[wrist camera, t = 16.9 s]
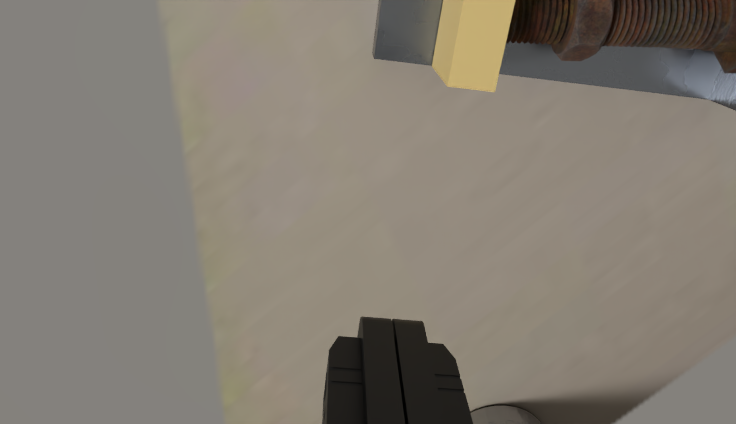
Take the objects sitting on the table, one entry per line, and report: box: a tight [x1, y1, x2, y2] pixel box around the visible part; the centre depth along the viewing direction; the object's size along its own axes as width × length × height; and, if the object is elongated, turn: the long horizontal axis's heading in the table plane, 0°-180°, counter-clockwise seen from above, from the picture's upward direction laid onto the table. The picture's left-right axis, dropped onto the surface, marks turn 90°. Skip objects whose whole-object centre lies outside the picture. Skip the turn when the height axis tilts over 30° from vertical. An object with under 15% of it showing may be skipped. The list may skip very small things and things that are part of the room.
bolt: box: [506, 0, 736, 73], centre depth 30 cm, size 6×5×15 cm
